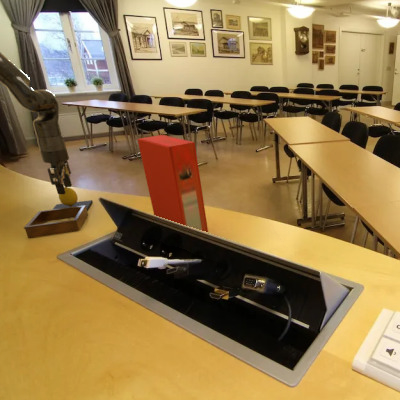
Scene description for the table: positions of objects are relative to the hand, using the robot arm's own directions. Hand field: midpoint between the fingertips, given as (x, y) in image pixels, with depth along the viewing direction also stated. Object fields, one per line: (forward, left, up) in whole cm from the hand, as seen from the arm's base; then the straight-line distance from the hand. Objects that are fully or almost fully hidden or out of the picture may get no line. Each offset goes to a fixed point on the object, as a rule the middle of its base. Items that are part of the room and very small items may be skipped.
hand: (65, 190), depth 122 cm
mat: (0, 0, -8) cm, 8 cm away
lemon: (0, 0, -7) cm, 7 cm away
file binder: (+39, -41, -8) cm, 57 cm away
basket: (0, -15, -8) cm, 17 cm away
